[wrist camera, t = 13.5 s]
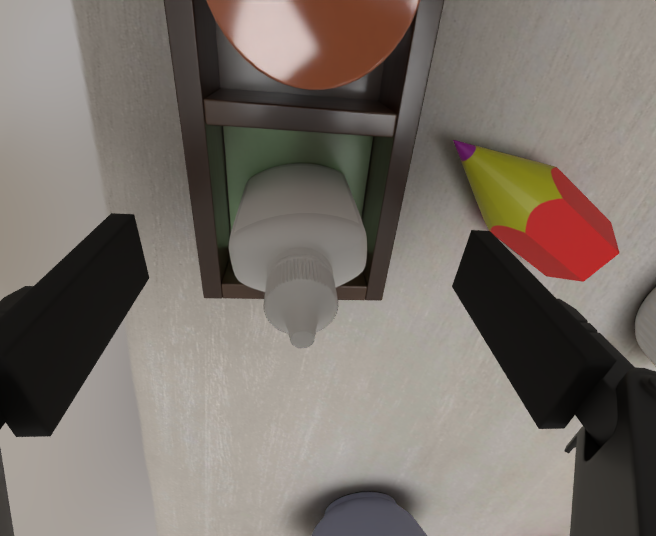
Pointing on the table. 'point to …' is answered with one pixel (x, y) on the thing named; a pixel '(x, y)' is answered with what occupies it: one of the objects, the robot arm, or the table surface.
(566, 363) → the robot arm
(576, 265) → the pencil
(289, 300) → the eye dropper bottle
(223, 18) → the glossy orange cylinder
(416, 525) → the bowl
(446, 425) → the table surface
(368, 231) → the divided wooden box
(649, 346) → the ramekin
